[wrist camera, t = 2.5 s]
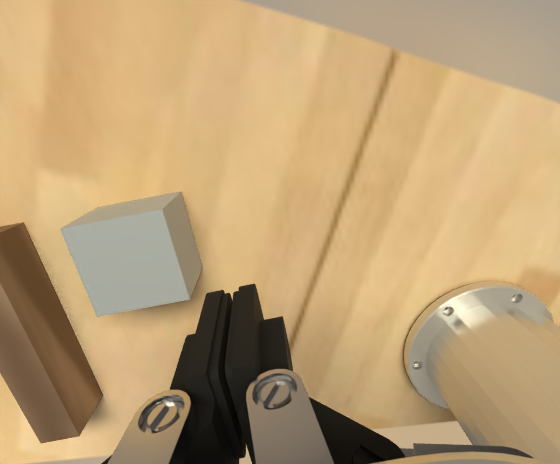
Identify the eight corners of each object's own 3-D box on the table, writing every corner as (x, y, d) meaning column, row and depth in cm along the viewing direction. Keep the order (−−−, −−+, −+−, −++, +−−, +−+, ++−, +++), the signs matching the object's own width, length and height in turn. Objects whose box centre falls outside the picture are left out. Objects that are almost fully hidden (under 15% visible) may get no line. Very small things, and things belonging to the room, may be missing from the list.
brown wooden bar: (23, 222, 24) (-22, 242, 20) (102, 394, 29) (79, 436, 26) (-18, 230, 24) (-70, 251, 20) (69, 401, 29) (40, 443, 26)
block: (181, 191, 24) (162, 209, 19) (202, 266, 26) (189, 299, 21) (99, 206, 24) (60, 228, 20) (126, 280, 26) (97, 316, 22)
